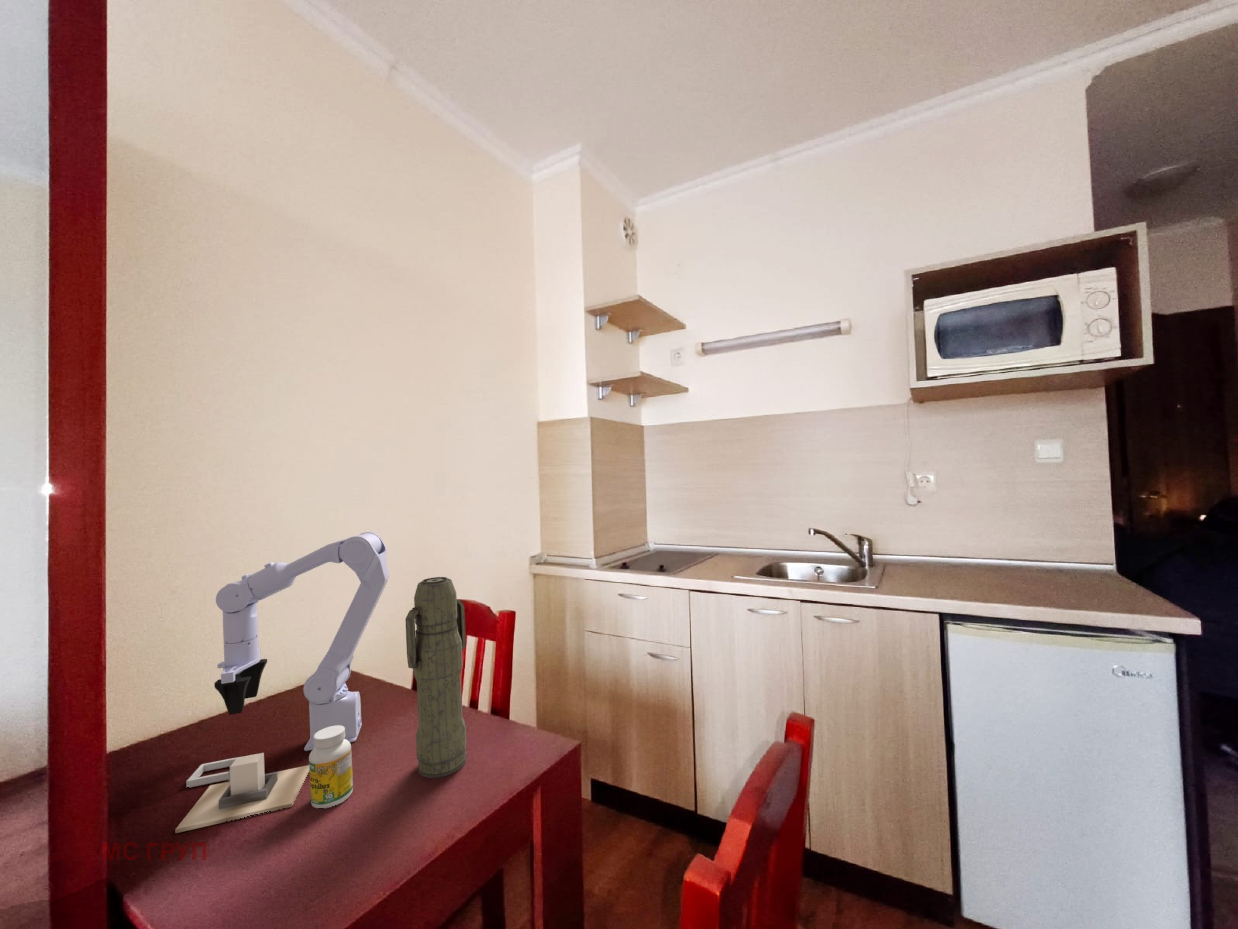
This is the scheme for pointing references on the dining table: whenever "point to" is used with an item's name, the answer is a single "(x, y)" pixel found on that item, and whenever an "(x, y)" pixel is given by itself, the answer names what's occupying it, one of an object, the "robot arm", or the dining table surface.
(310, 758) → the supplement bottle
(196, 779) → the white picture frame
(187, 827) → the port board
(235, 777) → the plug
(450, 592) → the thermos
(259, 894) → the dining table surface
